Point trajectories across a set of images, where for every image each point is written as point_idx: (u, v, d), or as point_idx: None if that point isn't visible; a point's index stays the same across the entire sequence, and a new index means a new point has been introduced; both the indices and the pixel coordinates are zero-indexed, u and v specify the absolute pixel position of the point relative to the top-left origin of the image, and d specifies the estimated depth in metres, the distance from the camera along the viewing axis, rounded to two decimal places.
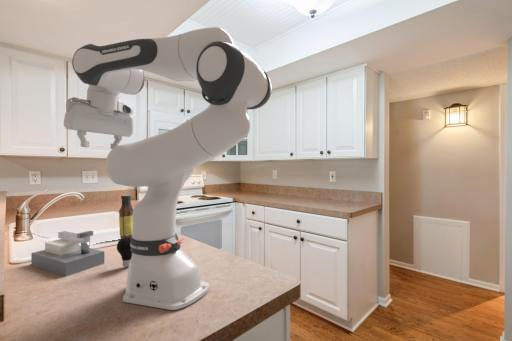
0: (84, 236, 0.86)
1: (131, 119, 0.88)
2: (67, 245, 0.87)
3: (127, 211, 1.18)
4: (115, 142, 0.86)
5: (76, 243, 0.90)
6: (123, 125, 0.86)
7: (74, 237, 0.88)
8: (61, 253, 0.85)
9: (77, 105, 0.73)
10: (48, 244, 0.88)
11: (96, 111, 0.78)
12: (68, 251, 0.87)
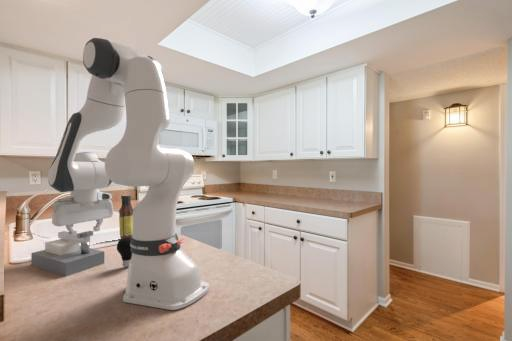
0: (84, 236, 0.86)
1: (111, 203, 1.03)
2: (67, 245, 0.87)
3: (127, 211, 1.18)
4: (97, 225, 1.01)
5: (76, 243, 0.90)
6: (104, 209, 1.02)
7: (74, 237, 0.88)
8: (61, 253, 0.85)
9: (62, 205, 0.89)
10: (48, 244, 0.88)
11: (79, 205, 0.93)
12: (68, 251, 0.87)
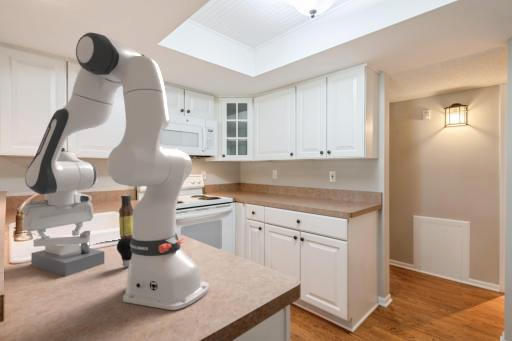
0: (87, 236, 0.87)
1: (90, 205, 0.97)
2: (67, 245, 0.87)
3: (127, 211, 1.18)
4: (76, 229, 0.95)
5: None
6: (83, 212, 0.95)
7: (69, 239, 0.85)
8: (61, 253, 0.85)
9: (34, 209, 0.82)
10: None
11: (54, 208, 0.86)
12: (68, 251, 0.87)
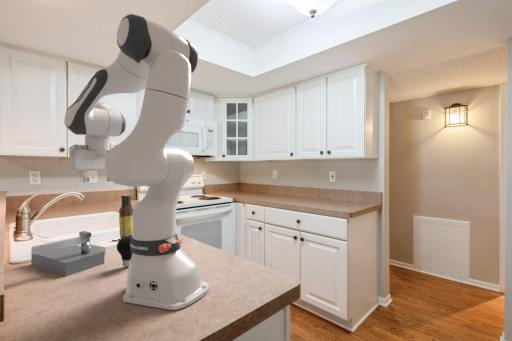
0: None
1: None
2: (111, 246, 1.00)
3: (127, 211, 1.18)
4: None
5: None
6: None
7: (73, 241, 0.83)
8: (106, 253, 0.99)
9: (78, 150, 0.93)
10: (93, 245, 1.01)
11: (93, 153, 0.98)
12: (111, 251, 1.01)
